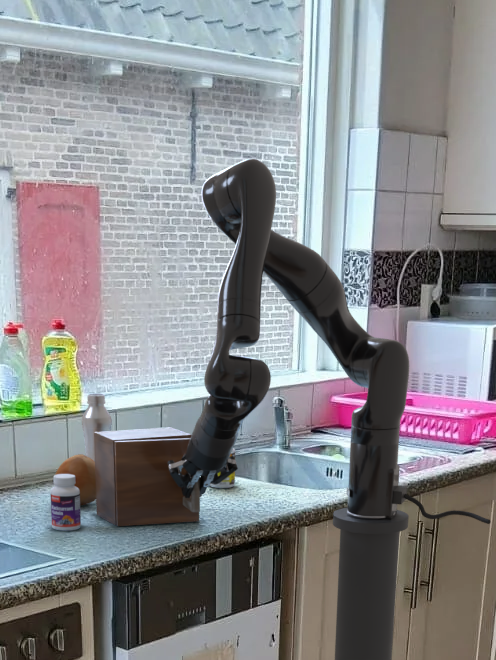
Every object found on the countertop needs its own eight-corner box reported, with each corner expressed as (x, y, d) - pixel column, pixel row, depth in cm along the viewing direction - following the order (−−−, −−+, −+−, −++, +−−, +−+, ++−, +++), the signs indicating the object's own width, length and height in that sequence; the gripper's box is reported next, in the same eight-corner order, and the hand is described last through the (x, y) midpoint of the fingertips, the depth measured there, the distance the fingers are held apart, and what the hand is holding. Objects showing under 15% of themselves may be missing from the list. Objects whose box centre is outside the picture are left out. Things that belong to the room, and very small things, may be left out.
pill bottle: (47, 530, 222) (45, 477, 218) (57, 523, 227) (54, 472, 223) (76, 531, 221) (74, 479, 217) (84, 525, 226) (82, 473, 222)
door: (209, 529, 224) (209, 444, 218) (126, 534, 219) (123, 448, 213) (197, 520, 231) (197, 437, 225) (116, 525, 226) (114, 441, 220)
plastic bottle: (84, 494, 252) (80, 396, 244) (83, 487, 258) (79, 392, 251) (115, 493, 253) (112, 396, 245) (113, 487, 259) (110, 392, 252)
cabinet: (192, 517, 233) (192, 434, 227) (115, 525, 226) (113, 440, 220) (171, 507, 241) (170, 427, 235) (96, 514, 234) (93, 432, 228)
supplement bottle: (235, 488, 259) (235, 441, 255) (209, 488, 259) (209, 440, 255) (234, 483, 264) (235, 436, 260) (209, 483, 264) (209, 436, 260)
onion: (56, 499, 246) (54, 450, 243) (105, 499, 247) (103, 450, 244) (53, 510, 237) (51, 459, 234) (104, 509, 238) (102, 459, 235)
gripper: (245, 418, 212) (221, 474, 227) (170, 422, 207) (151, 479, 222) (255, 454, 209) (231, 507, 224) (180, 459, 205) (160, 513, 220)
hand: (191, 493), depth 223 cm, fingers closed on door
